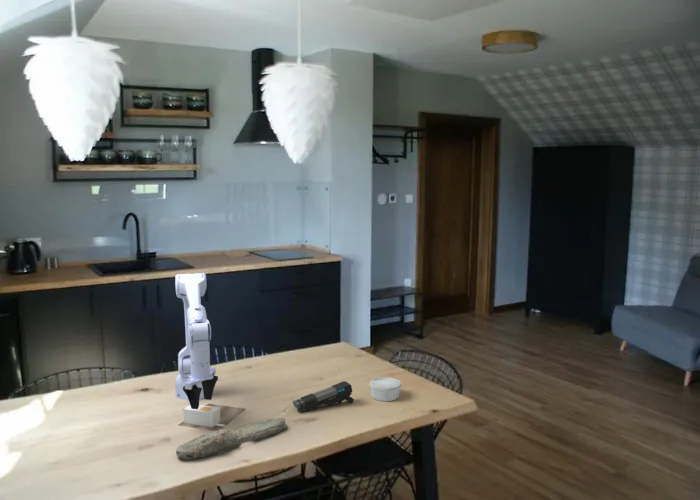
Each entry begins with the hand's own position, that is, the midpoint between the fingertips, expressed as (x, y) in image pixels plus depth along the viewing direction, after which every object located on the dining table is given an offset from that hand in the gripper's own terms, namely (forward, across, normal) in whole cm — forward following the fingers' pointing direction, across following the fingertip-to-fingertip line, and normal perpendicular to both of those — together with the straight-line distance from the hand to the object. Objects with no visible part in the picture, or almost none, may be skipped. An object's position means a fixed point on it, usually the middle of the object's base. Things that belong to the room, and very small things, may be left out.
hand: (201, 403), depth 185 cm
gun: (+8, +26, -31) cm, 41 cm away
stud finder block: (+6, 0, 0) cm, 6 cm away
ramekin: (+7, +41, -48) cm, 64 cm away
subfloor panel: (+7, +5, -1) cm, 9 cm away
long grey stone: (+8, -7, -15) cm, 18 cm away
